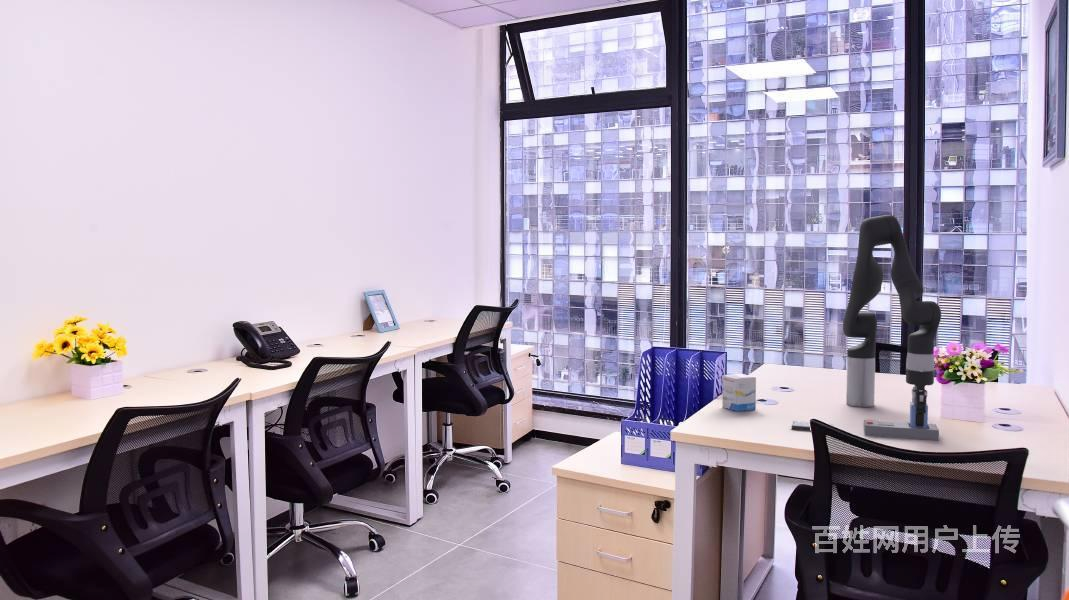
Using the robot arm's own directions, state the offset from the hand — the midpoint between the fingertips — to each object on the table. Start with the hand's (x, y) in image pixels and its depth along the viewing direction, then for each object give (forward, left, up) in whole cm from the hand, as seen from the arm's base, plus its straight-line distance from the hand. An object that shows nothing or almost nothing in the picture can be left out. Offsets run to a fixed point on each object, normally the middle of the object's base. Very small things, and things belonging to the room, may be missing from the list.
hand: (918, 424), depth 234 cm
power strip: (0, -5, -4) cm, 6 cm away
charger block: (0, 0, -2) cm, 2 cm away
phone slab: (0, -30, -4) cm, 30 cm away
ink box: (-23, -55, -4) cm, 60 cm away
